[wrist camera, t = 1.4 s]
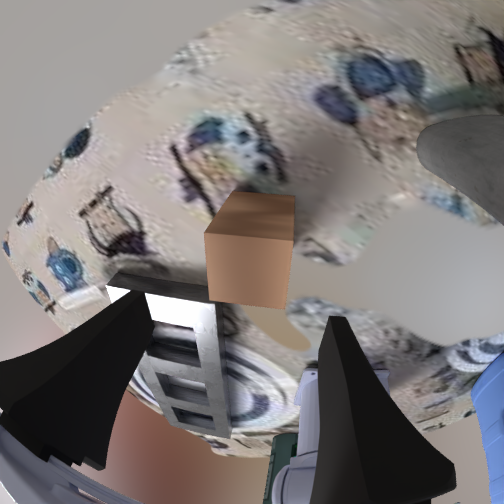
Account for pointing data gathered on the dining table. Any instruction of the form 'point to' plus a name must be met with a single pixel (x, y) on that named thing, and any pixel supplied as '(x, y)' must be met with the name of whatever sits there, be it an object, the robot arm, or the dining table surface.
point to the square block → (251, 249)
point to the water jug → (492, 423)
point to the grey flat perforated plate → (184, 353)
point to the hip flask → (468, 158)
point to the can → (279, 460)
